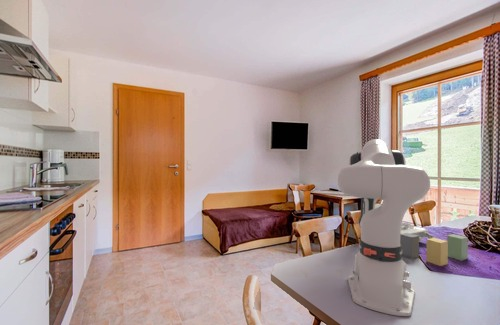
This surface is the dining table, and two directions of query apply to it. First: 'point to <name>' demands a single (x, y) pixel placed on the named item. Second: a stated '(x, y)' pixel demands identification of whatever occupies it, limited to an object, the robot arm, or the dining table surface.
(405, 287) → the robot arm
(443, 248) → the mustard brick
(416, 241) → the charcoal brick
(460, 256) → the sage green brick
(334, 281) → the dining table surface
